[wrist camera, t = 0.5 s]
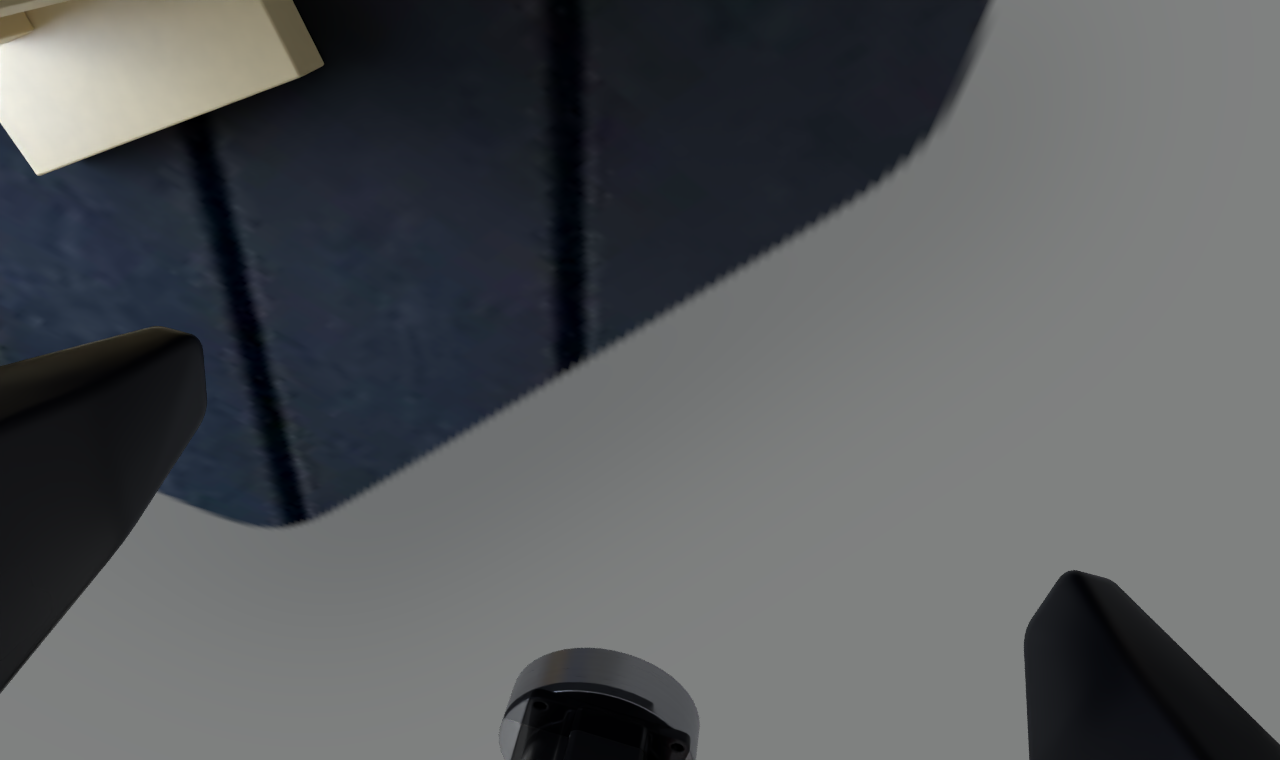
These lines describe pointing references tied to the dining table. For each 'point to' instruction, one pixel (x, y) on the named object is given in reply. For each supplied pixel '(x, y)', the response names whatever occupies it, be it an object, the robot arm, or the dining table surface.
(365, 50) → the dining table surface
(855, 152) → the dining table surface
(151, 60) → the bracket
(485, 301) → the dining table surface
